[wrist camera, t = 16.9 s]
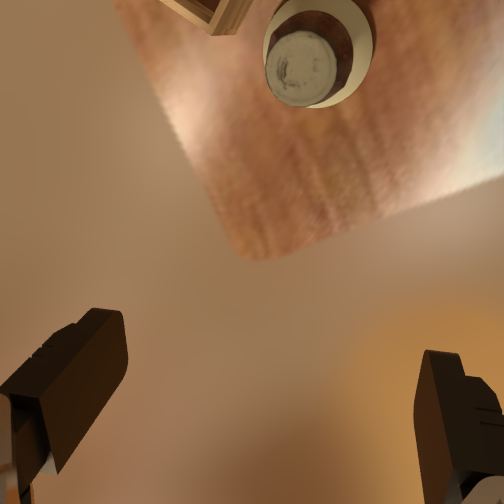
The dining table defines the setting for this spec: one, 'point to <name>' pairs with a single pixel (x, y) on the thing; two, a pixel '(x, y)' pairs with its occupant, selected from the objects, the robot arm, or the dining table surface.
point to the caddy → (213, 14)
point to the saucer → (355, 22)
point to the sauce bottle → (308, 58)
